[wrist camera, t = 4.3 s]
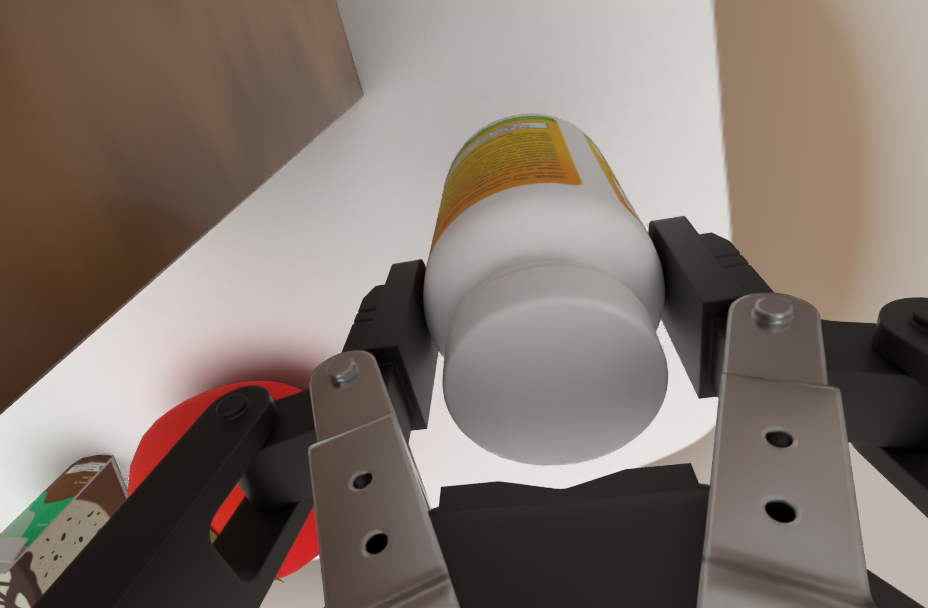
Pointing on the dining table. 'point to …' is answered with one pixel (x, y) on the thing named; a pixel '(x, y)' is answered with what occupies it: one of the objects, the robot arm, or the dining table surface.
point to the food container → (57, 528)
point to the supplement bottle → (544, 297)
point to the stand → (140, 146)
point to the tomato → (174, 428)
